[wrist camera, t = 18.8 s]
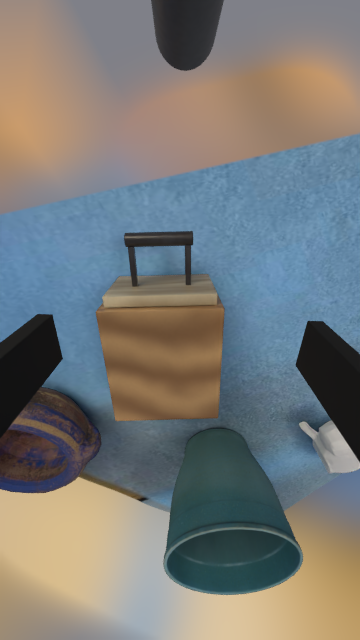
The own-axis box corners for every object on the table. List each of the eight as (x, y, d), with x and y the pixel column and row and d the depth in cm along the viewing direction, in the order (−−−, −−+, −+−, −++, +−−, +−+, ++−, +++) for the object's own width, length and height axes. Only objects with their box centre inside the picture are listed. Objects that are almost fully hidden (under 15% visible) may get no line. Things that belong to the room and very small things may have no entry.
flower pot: (178, 483, 52) (178, 601, 36) (157, 423, 44) (147, 539, 29) (264, 471, 50) (302, 588, 35) (258, 407, 43) (303, 520, 28)
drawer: (112, 229, 29) (92, 237, 22) (209, 227, 29) (220, 234, 22) (130, 363, 38) (119, 400, 30) (206, 361, 38) (212, 398, 30)
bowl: (60, 459, 48) (33, 518, 39) (-26, 407, 42) (-81, 463, 33) (123, 413, 43) (109, 468, 34) (36, 347, 37) (-9, 393, 28)
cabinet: (117, 283, 33) (95, 311, 24) (211, 280, 33) (224, 308, 24) (129, 372, 39) (115, 421, 31) (208, 370, 39) (218, 418, 31)
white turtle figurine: (345, 419, 49) (345, 391, 38) (378, 466, 43) (388, 448, 32) (303, 435, 50) (292, 412, 40) (329, 482, 44) (324, 470, 34)
